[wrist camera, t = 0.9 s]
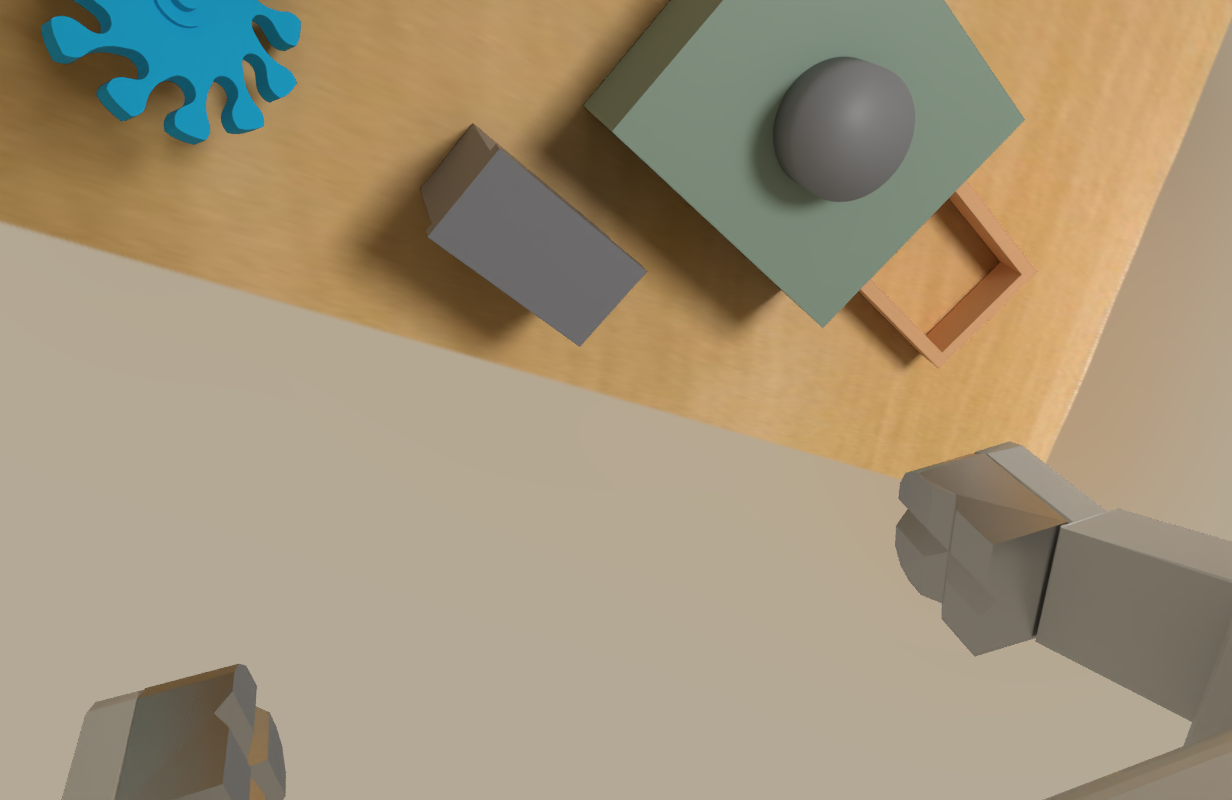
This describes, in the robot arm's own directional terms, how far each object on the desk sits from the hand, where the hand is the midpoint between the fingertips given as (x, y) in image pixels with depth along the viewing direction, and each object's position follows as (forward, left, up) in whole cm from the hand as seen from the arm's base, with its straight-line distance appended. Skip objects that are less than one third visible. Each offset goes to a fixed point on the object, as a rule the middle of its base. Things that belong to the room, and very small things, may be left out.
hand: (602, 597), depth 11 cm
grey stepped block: (+2, +9, -34) cm, 35 cm away
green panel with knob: (-11, +21, -34) cm, 42 cm away
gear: (+3, -9, -34) cm, 35 cm away
